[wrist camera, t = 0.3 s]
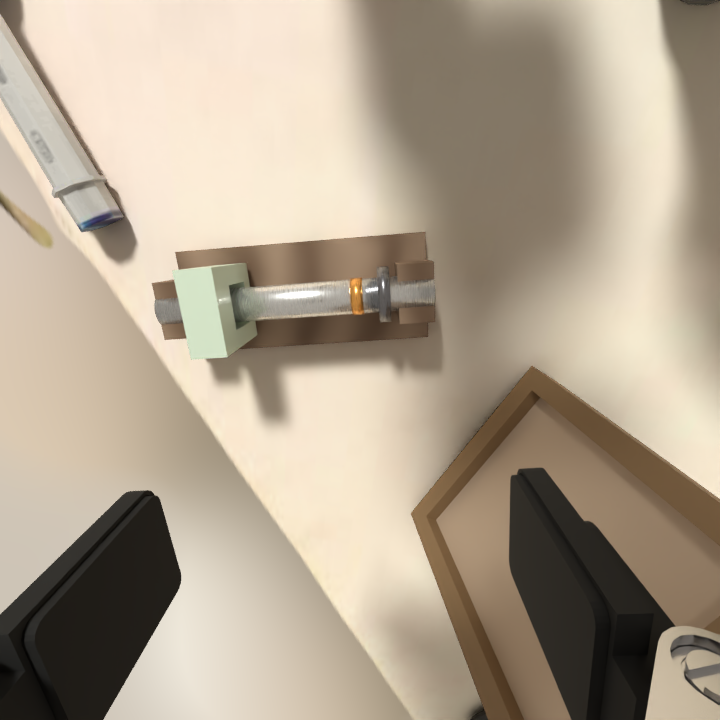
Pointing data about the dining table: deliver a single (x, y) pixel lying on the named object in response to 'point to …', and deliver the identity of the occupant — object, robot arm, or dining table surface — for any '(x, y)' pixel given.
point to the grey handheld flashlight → (52, 139)
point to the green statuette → (699, 2)
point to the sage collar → (212, 309)
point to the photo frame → (593, 503)
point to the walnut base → (318, 266)
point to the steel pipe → (318, 299)
